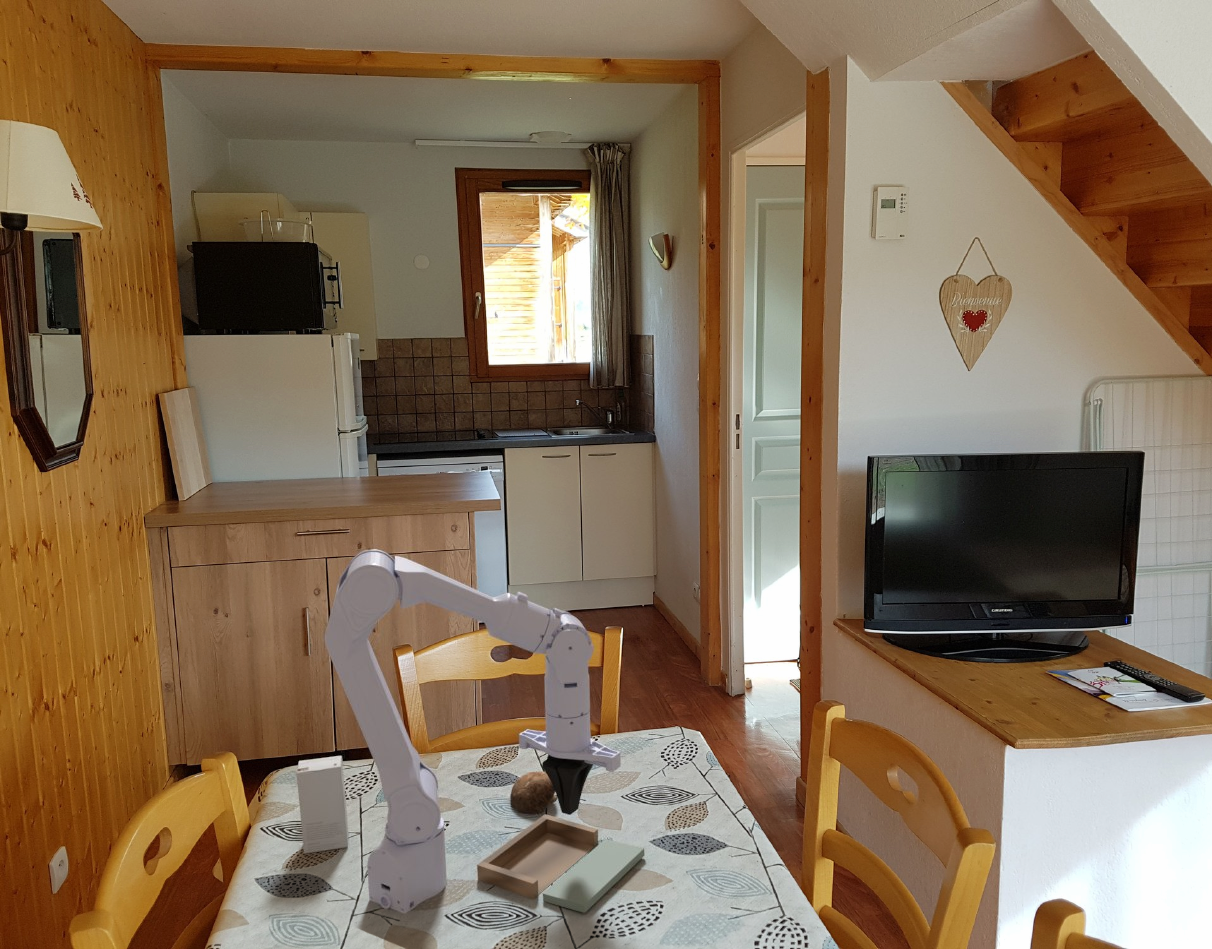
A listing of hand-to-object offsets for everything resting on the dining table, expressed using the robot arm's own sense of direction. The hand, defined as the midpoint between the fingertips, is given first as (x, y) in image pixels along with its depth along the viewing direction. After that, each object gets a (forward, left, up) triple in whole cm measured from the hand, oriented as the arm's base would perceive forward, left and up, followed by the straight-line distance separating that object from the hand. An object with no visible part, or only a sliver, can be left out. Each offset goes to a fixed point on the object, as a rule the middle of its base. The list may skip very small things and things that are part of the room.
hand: (569, 810), depth 122 cm
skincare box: (-11, +34, -9) cm, 37 cm away
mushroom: (+11, +14, -9) cm, 20 cm away
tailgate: (-2, -2, -7) cm, 8 cm away
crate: (-2, +4, -9) cm, 10 cm away
